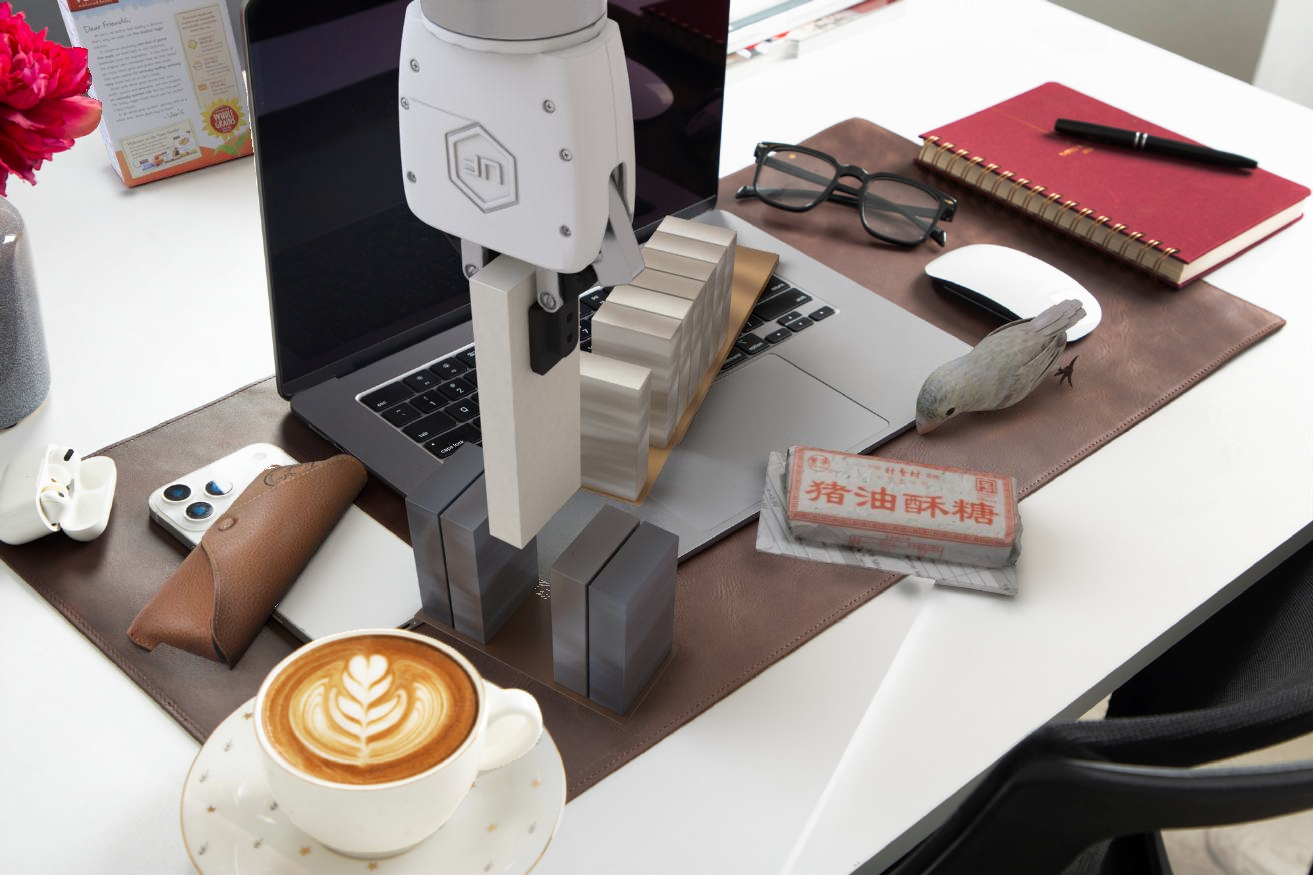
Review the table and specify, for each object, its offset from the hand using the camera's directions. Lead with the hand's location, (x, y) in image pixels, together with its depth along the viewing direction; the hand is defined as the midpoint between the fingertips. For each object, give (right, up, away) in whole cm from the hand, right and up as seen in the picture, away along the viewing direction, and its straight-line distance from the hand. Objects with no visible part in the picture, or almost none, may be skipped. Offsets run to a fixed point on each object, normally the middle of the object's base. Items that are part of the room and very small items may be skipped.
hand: (529, 348), depth 58 cm
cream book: (0, -9, +8) cm, 12 cm away
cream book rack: (+8, +2, +38) cm, 39 cm away
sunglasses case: (-21, -13, +21) cm, 32 cm away
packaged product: (+23, -11, +25) cm, 36 cm away
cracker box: (-42, +24, +61) cm, 78 cm away
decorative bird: (+34, -2, +36) cm, 49 cm away
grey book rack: (-1, -18, +16) cm, 24 cm away
